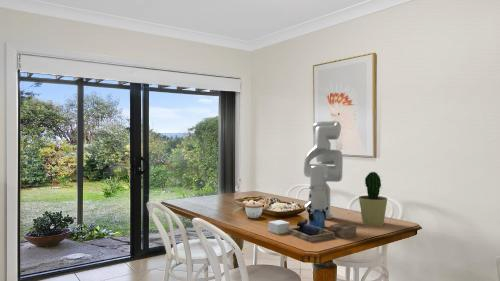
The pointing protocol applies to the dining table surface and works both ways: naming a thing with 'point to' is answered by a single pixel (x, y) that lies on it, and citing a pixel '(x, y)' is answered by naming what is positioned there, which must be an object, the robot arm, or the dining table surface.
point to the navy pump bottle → (308, 228)
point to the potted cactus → (373, 202)
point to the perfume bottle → (318, 219)
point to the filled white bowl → (253, 209)
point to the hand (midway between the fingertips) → (317, 219)
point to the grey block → (278, 226)
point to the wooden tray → (323, 236)
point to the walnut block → (343, 230)
